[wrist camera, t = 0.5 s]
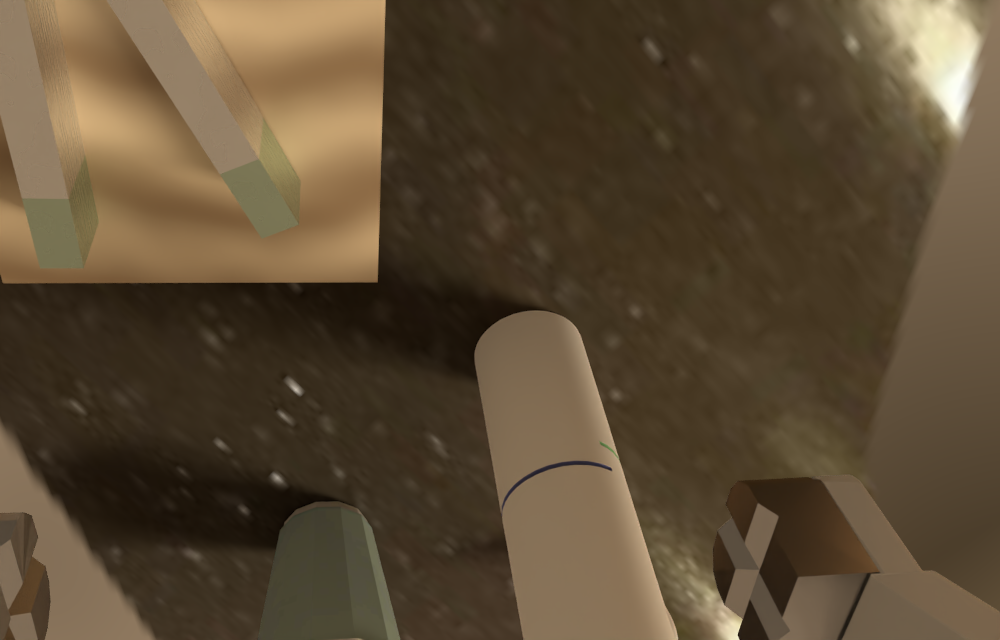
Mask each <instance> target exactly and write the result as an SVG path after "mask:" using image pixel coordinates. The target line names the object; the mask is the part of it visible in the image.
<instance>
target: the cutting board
mask: <svg viewBox="0 0 1000 640" xmlns="http://www.w3.org/2000/svg"><path fill="white" fill-rule="evenodd" d="M195 1H196V3H197V5H198V6H199V8H200V10H201V11H202V13H203V15H204V16H205V18H206V20H207V22H208V23H209V25H210V27H211V28H212V30H213V32H214V34H215V35H216V37H217V39H218V40H219V42H220V44H221V46H222V47H223V49H224V51H225V52H226V54H227V56H228V58H229V59H230V61H231V63H232V64H233V66H234V68H235V70H236V71H237V73H238V75H239V76H240V78H241V80H242V82H243V83H244V85H245V87H246V88H247V90H248V92H249V94H250V95H251V97H252V99H253V100H254V102H255V104H256V106H257V107H258V109H259V111H260V112H261V114H262V116H263V118H264V119H265V121H266V123H267V124H268V126H269V128H270V130H271V131H272V133H273V135H274V136H275V138H276V140H277V141H278V143H279V145H280V147H281V148H282V150H283V152H284V153H285V155H286V157H287V159H288V160H289V162H290V164H291V165H292V167H293V169H294V171H295V172H296V174H297V176H298V177H299V179H300V181H301V186H300V211H299V225H297V226H294V227H292V228H289V229H286V230H284V231H281V232H278V233H276V234H273V235H270V236H268V237H265V238H261V237H260V235H259V234H258V232H257V231H256V229H255V228H254V226H253V224H252V223H251V221H250V220H249V218H248V217H247V215H246V214H245V212H244V211H243V209H242V208H241V206H240V205H239V203H238V201H237V200H236V198H235V197H234V195H233V194H232V192H231V191H230V189H229V188H228V186H227V185H226V183H225V181H224V180H223V178H222V177H221V175H220V174H219V172H218V171H217V169H216V168H215V166H214V165H213V163H212V162H211V160H210V158H209V157H208V155H207V154H206V152H205V151H204V149H203V148H202V146H201V145H200V143H199V142H198V140H197V139H196V137H195V135H194V134H193V132H192V131H191V129H190V128H189V126H188V125H187V123H186V122H185V120H184V119H183V117H182V115H181V114H180V112H179V111H178V109H177V108H176V106H175V105H174V103H173V102H172V100H171V99H170V97H169V96H168V94H167V92H166V91H165V89H164V88H163V86H162V85H161V83H160V82H159V80H158V79H157V77H156V76H155V74H154V72H153V71H152V69H151V68H150V66H149V65H148V63H147V62H146V60H145V59H144V57H143V56H142V54H141V53H140V51H139V49H138V48H137V46H136V45H135V43H134V42H133V40H132V39H131V37H130V36H129V34H128V33H127V31H126V30H125V28H124V26H123V25H122V23H121V22H120V20H119V19H118V17H117V16H116V14H115V13H114V11H113V10H112V8H111V6H110V5H109V3H108V2H107V0H54V2H55V7H56V12H57V17H58V22H59V26H60V31H61V36H62V41H63V46H64V51H65V56H66V61H67V66H68V71H69V76H70V81H71V86H72V91H73V96H74V101H75V106H76V111H77V116H78V121H79V126H80V131H81V136H82V141H83V146H84V151H85V156H86V161H87V166H88V171H89V176H90V181H91V186H92V190H93V195H94V200H95V205H96V210H97V215H98V220H99V223H98V226H97V229H96V233H95V236H94V239H93V242H92V245H91V248H90V251H89V254H88V257H87V260H86V263H85V266H84V268H40V266H39V263H38V259H37V255H36V251H35V247H34V243H33V239H32V236H31V232H30V228H29V224H28V220H27V216H26V212H25V209H24V205H23V201H22V197H21V193H20V189H19V185H18V181H17V178H16V174H15V170H14V166H13V162H12V158H11V154H10V151H9V147H8V143H7V139H6V135H5V131H4V127H3V124H2V120H1V116H0V275H1V278H2V282H3V283H300V282H378V251H379V214H380V178H381V142H382V106H383V70H384V34H385V0H195Z"/></svg>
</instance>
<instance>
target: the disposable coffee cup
mask: <svg viewBox="0 0 1000 640" xmlns="http://www.w3.org/2000/svg"><path fill="white" fill-rule="evenodd" d="M258 640H400V637H399V633H398V629H397V625H396V621H395V617H394V613H393V609H392V605H391V602H390V598H389V594H388V590H387V586H386V582H385V578H384V574H383V570H382V566H381V562H380V559H379V555H378V551H377V547H376V543H375V539H374V535H373V531H372V528H371V526H370V525H369V524H368V522H367V520H366V519H365V517H364V516H363V515H362V514H361V512H360V511H359V510H358V508H355V507H353V506H350V505H347V504H345V503H342V502H339V501H331V502H314V503H312V504H309V505H307V506H304V507H301V508H299V509H296V510H295V511H294V512H293V513H292V515H291V516H290V517H289V518H288V519H287V520H286V521H285V522H284V526H283V527H282V528H281V529H280V533H279V537H278V542H277V547H276V552H275V557H274V562H273V567H272V572H271V577H270V582H269V586H268V591H267V596H266V601H265V606H264V611H263V616H262V621H261V626H260V630H259V635H258Z"/></svg>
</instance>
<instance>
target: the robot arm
mask: <svg viewBox="0 0 1000 640" xmlns="http://www.w3.org/2000/svg"><path fill="white" fill-rule="evenodd" d="M726 506H727V508H728V510H729V512H730V514H731V516H732V518H731V519H730V520H729V521H727V522H726V523H725V524H724V525H723V526H722V527H721V528H719V529H718V531H717V535H716V539H715V542H714V546H713V572H714V577H715V581H716V585H717V589H718V591H719V593H720V596H721V598H722V600H723V603H724V605H725V606H726V607H728V608H729V609H730V610H732V611H733V612H734V613H736V614H737V615H738V616H740V617H741V618H742V619H743V620H742V623H741V626H740V629H739V632H738V637H739V639H740V640H1000V612H999V611H998V610H996V609H994V608H992V607H991V606H990V605H988V604H987V603H985V602H983V601H982V600H980V599H979V598H977V597H975V596H974V595H972V594H971V593H969V592H967V591H965V590H964V589H962V588H961V587H959V586H958V585H956V584H954V583H953V582H951V581H950V580H948V579H946V578H945V577H943V576H941V575H940V574H938V573H937V572H935V571H922V570H921V568H920V567H919V565H918V564H917V563H916V561H915V560H914V558H913V557H912V555H911V554H910V552H909V551H908V549H907V548H906V547H905V545H904V544H903V542H902V541H901V539H900V538H899V537H898V535H897V534H896V532H895V531H894V529H893V528H892V526H891V525H890V524H889V522H888V521H887V519H886V518H885V516H884V515H883V514H882V512H881V511H880V509H879V508H878V506H877V505H876V503H875V502H874V500H873V499H872V498H871V496H870V495H869V493H868V492H867V490H866V489H865V487H864V486H863V485H862V483H861V482H860V481H859V480H858V479H857V478H855V477H854V476H852V475H834V476H816V477H812V478H809V477H801V478H783V479H764V480H745V481H737V482H736V483H735V484H734V485H733V487H732V488H731V489H730V492H729V495H728V498H727V501H726ZM37 539H38V535H37V532H36V529H35V525H34V522H33V519H32V516H31V515H29V514H27V513H0V640H44V639H45V636H46V632H47V628H48V619H49V610H50V590H49V580H48V576H47V571H46V567H45V566H44V565H43V564H42V563H40V562H39V561H38V560H36V559H35V558H34V557H32V554H33V551H34V548H35V545H36V542H37Z"/></svg>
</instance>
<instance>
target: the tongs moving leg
mask: <svg viewBox="0 0 1000 640" xmlns="http://www.w3.org/2000/svg"><path fill="white" fill-rule="evenodd" d="M107 2H108V3H109V5H110V6H111V8H112V10H113V11H114V13H115V14H116V16H117V17H118V19H119V20H120V22H121V23H122V25H123V26H124V28H125V30H126V31H127V33H128V34H129V36H130V37H131V39H132V40H133V42H134V43H135V45H136V46H137V48H138V49H139V51H140V53H141V54H142V56H143V57H144V59H145V60H146V62H147V63H148V65H149V66H150V68H151V69H152V71H153V72H154V74H155V76H156V77H157V79H158V80H159V82H160V83H161V85H162V86H163V88H164V89H165V91H166V92H167V94H168V96H169V97H170V99H171V100H172V102H173V103H174V105H175V106H176V108H177V109H178V111H179V112H180V114H181V115H182V117H183V119H184V120H185V122H186V123H187V125H188V126H189V128H190V129H191V131H192V132H193V134H194V135H195V137H196V139H197V140H198V142H199V143H200V145H201V146H202V148H203V149H204V151H205V152H206V154H207V155H208V157H209V158H210V160H211V162H212V163H213V165H214V166H215V168H216V169H217V171H218V172H219V174H220V175H221V177H222V178H223V180H224V181H225V183H226V185H227V186H228V188H229V189H230V191H231V192H232V194H233V195H234V197H235V198H236V200H237V201H238V203H239V205H240V206H241V208H242V209H243V211H244V212H245V214H246V215H247V217H248V218H249V220H250V221H251V223H252V224H253V226H254V228H255V229H256V231H257V232H258V234H259V235H260V237H261V238H265V237H268V236H270V235H273V234H276V233H278V232H281V231H284V230H286V229H289V228H292V227H294V226H297V225H299V211H300V186H301V181H300V179H299V177H298V176H297V174H296V172H295V171H294V169H293V167H292V165H291V164H290V162H289V160H288V159H287V157H286V155H285V153H284V152H283V150H282V148H281V147H280V145H279V143H278V141H277V140H276V138H275V136H274V135H273V133H272V131H271V130H270V128H269V126H268V124H267V123H266V121H265V119H264V118H263V116H262V114H261V112H260V111H259V109H258V107H257V106H256V104H255V102H254V100H253V99H252V97H251V95H250V94H249V92H248V90H247V88H246V87H245V85H244V83H243V82H242V80H241V78H240V76H239V75H238V73H237V71H236V70H235V68H234V66H233V64H232V63H231V61H230V59H229V58H228V56H227V54H226V52H225V51H224V49H223V47H222V46H221V44H220V42H219V40H218V39H217V37H216V35H215V34H214V32H213V30H212V28H211V27H210V25H209V23H208V22H207V20H206V18H205V16H204V15H203V13H202V11H201V10H200V8H199V6H198V5H197V3H196V1H195V0H107Z"/></svg>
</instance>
